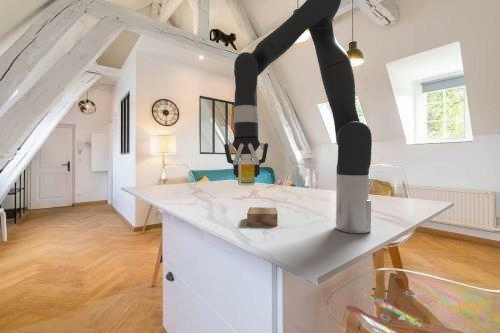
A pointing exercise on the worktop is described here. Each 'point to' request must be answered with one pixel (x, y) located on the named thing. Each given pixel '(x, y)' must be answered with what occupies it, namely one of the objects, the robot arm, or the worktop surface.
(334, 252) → the worktop surface
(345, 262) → the worktop surface
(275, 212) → the walnut block
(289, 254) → the worktop surface
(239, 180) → the supplement bottle
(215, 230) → the worktop surface
